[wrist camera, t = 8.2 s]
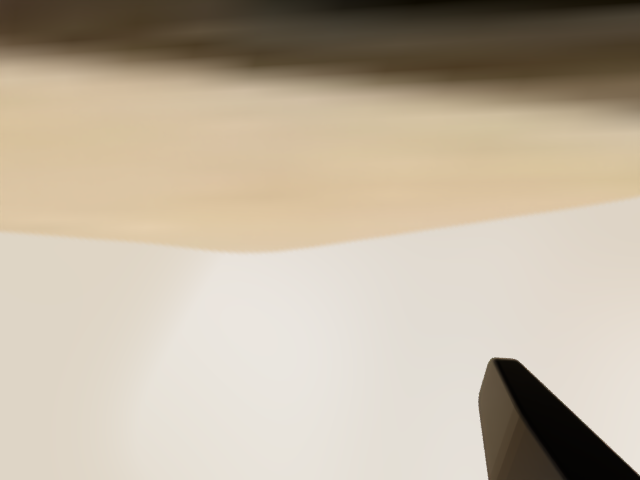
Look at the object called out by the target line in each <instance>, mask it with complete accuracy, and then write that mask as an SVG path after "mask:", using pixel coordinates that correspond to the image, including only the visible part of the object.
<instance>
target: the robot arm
mask: <svg viewBox="0 0 640 480" xmlns="http://www.w3.org/2000/svg"><path fill="white" fill-rule="evenodd" d="M478 403H479V413H480V420H481V428H482V435H483V443H484V450H485V458H486V465H487V472H488V480H640V475H639V474H638V473H637V472H636V471H634V470H633V469H632V468H631V467H630V466H629V465H628V464H627V463H626V462H625V461H624V460H623V459H622V458H621V457H620V456H619V455H617V454H616V453H615V452H614V451H613V450H612V449H611V448H610V447H609V446H608V445H607V444H606V443H605V442H604V441H603V440H602V439H601V438H599V436H597V435H596V434H595V433H594V432H593V431H592V430H591V429H590V428H589V427H588V426H587V425H586V424H585V423H584V422H582V421H581V419H580V418H578V417H577V416H576V415H575V414H574V413H573V412H572V411H571V410H570V409H569V408H568V407H567V406H566V405H565V404H564V403H563V402H562V401H560V400H559V399H558V398H557V397H556V396H555V395H554V394H553V393H552V392H551V391H550V390H549V389H548V388H547V387H546V386H545V385H544V384H543V383H541V382H540V381H539V380H538V379H537V378H536V377H535V376H534V375H533V374H532V373H531V372H530V371H529V370H527V368H525V366H524V365H522V364H521V363H520V362H519V361H518V360H515V359H511V358H492V359H491V360H490V361H489V363H488V365H487V369H486V372H485V375H484V379H483V382H482V385H481V389H480V392H479V401H478Z"/></svg>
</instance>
